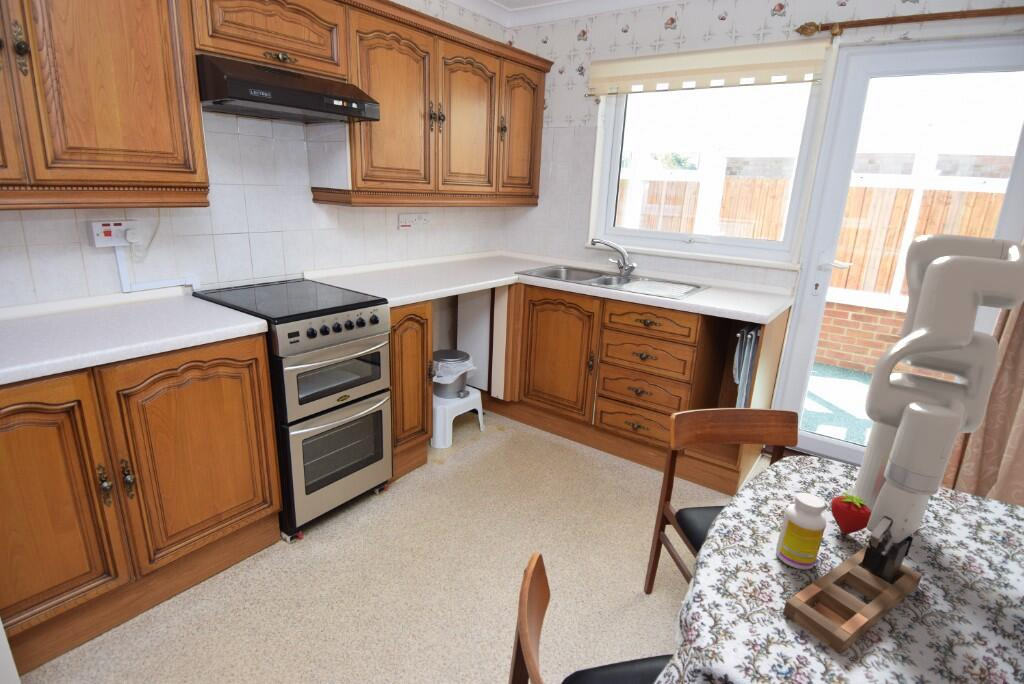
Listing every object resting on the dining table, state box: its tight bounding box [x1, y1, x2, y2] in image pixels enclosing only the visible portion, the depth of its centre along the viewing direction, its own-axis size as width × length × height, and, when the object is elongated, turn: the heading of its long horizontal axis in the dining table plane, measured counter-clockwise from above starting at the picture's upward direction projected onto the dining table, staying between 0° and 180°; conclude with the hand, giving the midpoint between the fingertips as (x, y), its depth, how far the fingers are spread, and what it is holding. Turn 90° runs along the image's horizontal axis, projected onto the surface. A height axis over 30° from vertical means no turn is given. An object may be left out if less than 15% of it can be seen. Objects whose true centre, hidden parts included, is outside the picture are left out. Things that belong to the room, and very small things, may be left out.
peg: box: [864, 532, 909, 585], centre depth 95 cm, size 4×4×9 cm
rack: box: [782, 545, 923, 655], centre depth 91 cm, size 28×9×3 cm, turn 124°
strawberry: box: [830, 491, 871, 535], centre depth 107 cm, size 6×8×10 cm
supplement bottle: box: [775, 492, 827, 570], centre depth 98 cm, size 7×7×13 cm
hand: (884, 560), depth 94 cm, fingers open, 9 cm apart
